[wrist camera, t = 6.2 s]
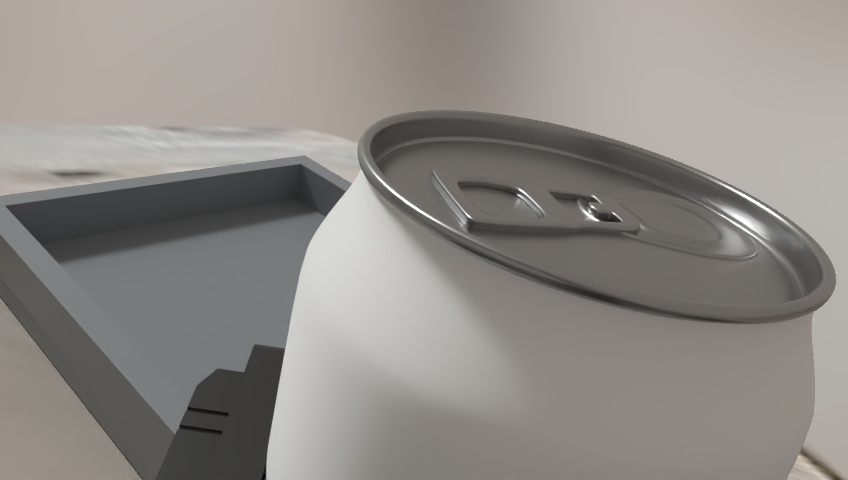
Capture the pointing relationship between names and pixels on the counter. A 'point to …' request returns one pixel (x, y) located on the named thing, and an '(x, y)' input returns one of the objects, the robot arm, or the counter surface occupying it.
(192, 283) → the bin
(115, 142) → the counter surface
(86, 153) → the counter surface
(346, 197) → the can
